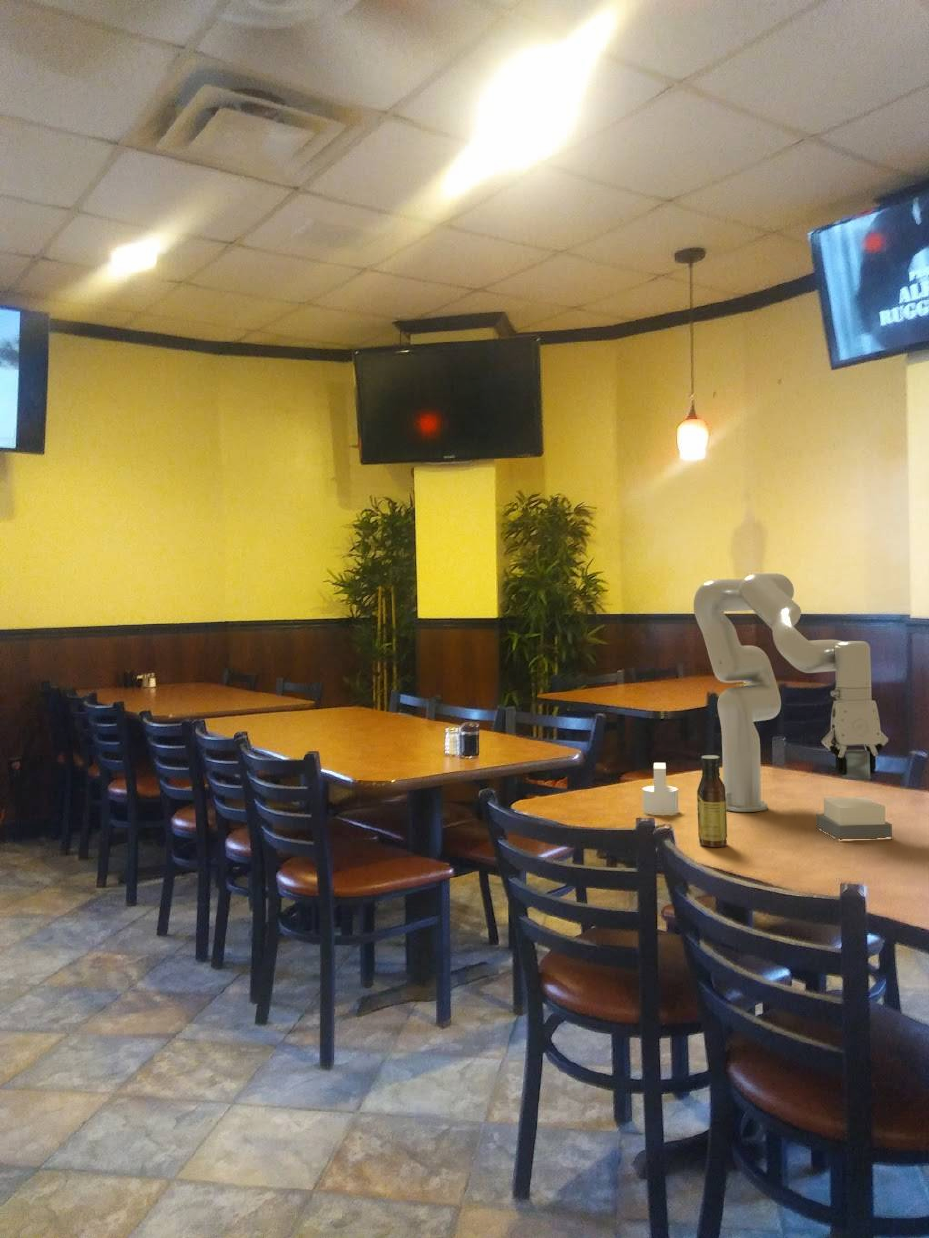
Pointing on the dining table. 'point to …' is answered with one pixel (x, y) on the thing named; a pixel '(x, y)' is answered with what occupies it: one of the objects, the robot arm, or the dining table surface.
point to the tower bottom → (853, 829)
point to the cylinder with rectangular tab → (660, 794)
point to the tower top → (854, 811)
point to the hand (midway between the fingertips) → (855, 772)
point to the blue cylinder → (857, 764)
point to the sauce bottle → (711, 804)
